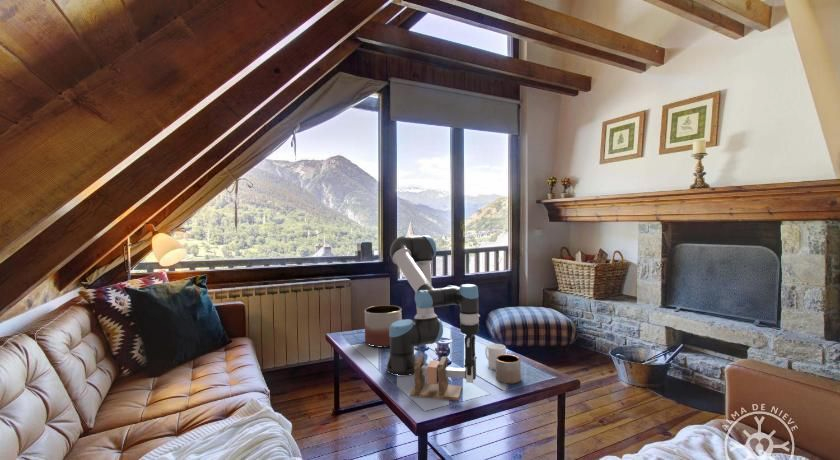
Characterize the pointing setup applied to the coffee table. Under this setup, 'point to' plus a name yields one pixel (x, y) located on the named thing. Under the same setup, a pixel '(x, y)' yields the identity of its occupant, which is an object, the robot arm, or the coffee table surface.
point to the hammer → (454, 371)
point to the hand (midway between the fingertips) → (470, 378)
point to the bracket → (434, 390)
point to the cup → (494, 354)
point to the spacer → (432, 372)
